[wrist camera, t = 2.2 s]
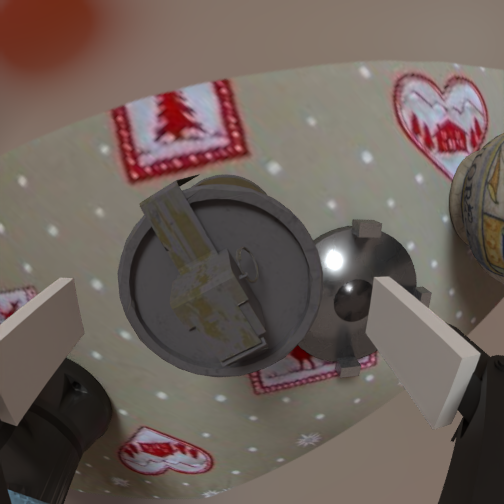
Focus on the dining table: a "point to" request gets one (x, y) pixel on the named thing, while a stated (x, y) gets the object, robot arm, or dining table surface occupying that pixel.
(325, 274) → the flange
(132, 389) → the dining table surface
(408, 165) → the dining table surface
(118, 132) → the dining table surface
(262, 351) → the canister
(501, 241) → the vase
